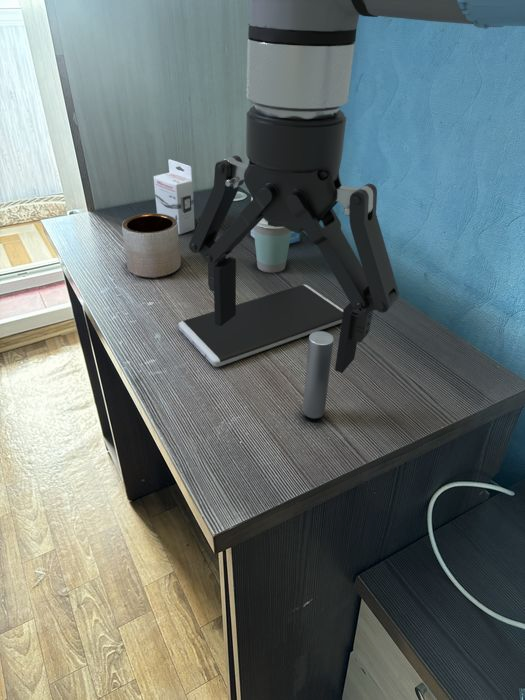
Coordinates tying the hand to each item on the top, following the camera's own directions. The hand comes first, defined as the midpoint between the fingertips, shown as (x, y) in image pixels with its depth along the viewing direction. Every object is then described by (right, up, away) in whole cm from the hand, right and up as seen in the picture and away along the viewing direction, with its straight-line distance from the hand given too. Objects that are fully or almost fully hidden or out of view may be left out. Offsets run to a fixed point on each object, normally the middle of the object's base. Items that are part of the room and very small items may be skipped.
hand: (281, 341), depth 51 cm
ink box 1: (-23, +28, +73) cm, 82 cm away
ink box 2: (+1, +25, +69) cm, 73 cm away
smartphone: (-1, +3, +38) cm, 38 cm away
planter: (-24, +16, +55) cm, 62 cm away
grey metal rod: (+5, -10, +20) cm, 23 cm away
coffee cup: (0, +16, +57) cm, 59 cm away
